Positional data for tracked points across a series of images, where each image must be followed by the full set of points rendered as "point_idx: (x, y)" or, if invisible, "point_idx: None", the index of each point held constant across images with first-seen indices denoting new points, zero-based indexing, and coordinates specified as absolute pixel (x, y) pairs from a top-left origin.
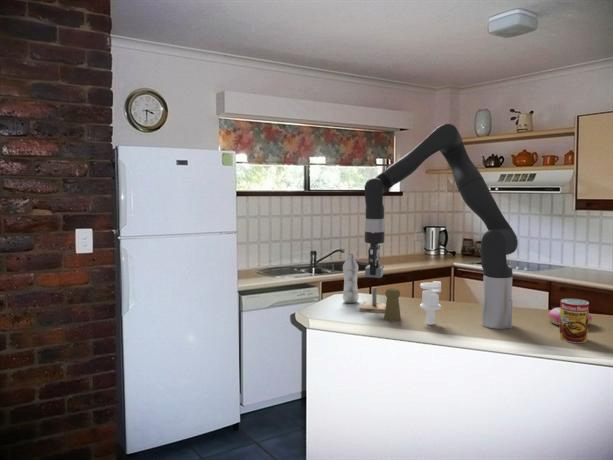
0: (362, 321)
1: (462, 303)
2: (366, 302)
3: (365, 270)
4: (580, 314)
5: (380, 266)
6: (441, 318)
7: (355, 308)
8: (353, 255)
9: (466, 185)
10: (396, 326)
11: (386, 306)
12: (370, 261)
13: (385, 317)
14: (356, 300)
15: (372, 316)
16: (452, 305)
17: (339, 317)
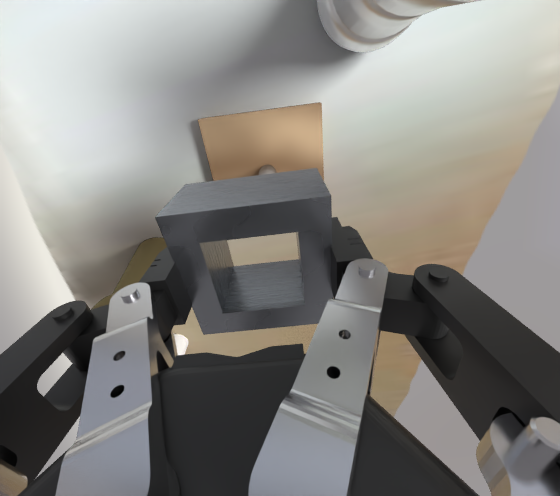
0: (66, 182)
1: (409, 366)
2: (317, 118)
3: (167, 208)
4: None
5: (303, 311)
6: (238, 351)
7: (241, 81)
8: None
9: None
10: (95, 286)
11: (125, 272)
12: (59, 345)
13: (137, 249)
14: (342, 47)
15: (153, 195)
16: (382, 353)
17: (42, 60)
